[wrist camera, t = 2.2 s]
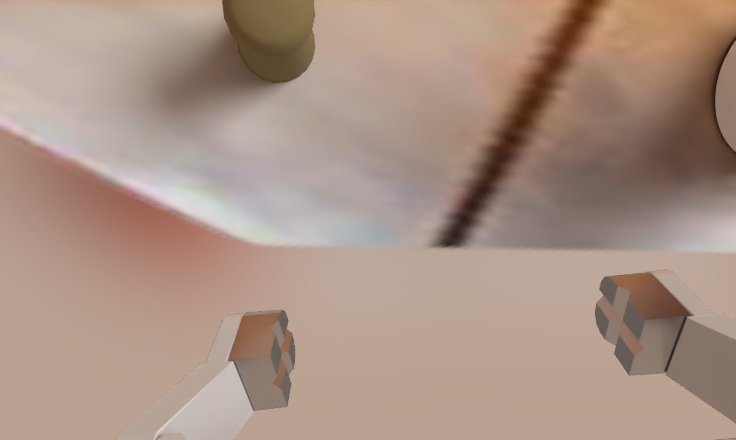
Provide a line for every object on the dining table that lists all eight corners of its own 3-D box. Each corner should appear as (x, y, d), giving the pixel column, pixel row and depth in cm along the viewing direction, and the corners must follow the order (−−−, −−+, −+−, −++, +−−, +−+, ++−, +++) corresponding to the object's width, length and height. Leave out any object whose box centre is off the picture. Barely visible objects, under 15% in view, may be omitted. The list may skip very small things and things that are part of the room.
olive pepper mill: (249, 89, 34) (228, 70, 23) (227, 9, 32) (194, -50, 22) (323, 73, 34) (335, 48, 24) (304, -6, 33) (308, -70, 22)
